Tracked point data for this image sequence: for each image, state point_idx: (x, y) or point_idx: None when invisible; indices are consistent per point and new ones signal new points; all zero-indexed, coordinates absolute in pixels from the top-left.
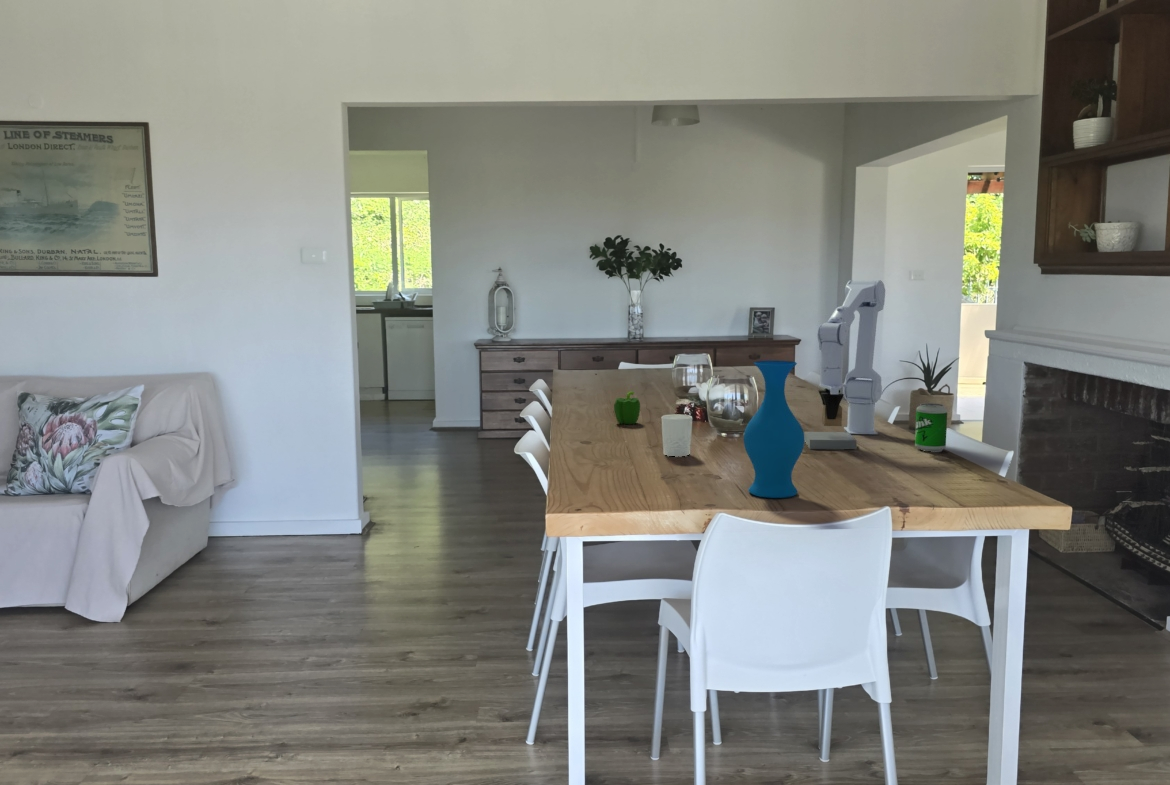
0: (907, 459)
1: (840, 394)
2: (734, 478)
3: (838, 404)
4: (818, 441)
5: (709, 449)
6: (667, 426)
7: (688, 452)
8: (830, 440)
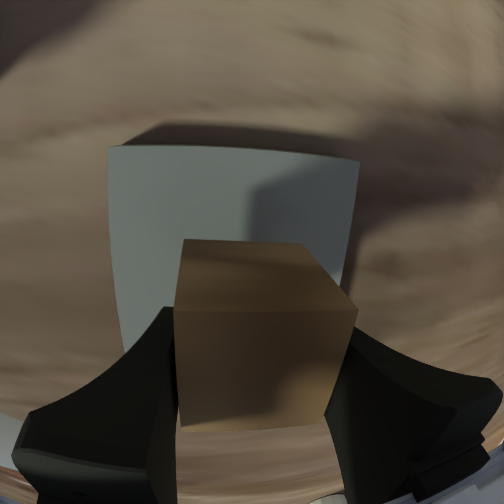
0: (476, 56)
1: (479, 419)
2: None
3: (409, 365)
4: None
5: (285, 490)
6: None
7: (340, 498)
8: (339, 282)
